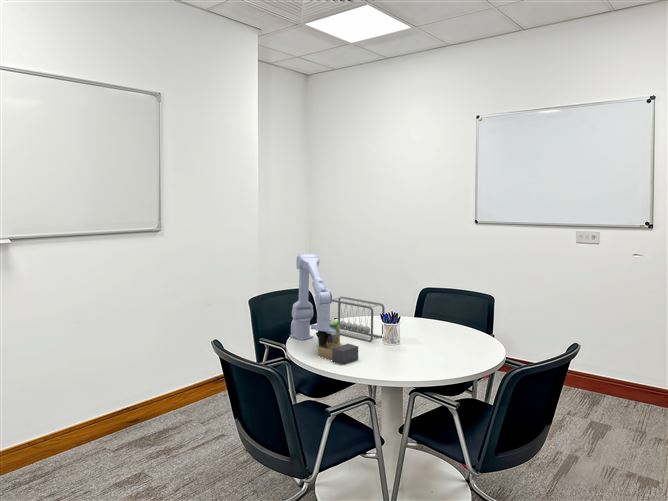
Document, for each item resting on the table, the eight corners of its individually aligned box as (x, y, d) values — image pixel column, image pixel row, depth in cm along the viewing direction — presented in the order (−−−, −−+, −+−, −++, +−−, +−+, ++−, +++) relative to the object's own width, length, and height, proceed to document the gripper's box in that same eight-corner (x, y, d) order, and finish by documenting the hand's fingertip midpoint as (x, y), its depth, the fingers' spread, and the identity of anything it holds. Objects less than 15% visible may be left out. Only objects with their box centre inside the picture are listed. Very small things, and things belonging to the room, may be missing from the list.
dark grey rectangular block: (319, 357, 225) (319, 344, 224) (335, 352, 232) (335, 339, 231) (342, 365, 215) (342, 351, 215) (358, 359, 222) (358, 346, 222)
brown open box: (317, 356, 227) (318, 346, 227) (330, 352, 233) (330, 342, 232) (333, 361, 220) (334, 351, 220) (346, 357, 226) (346, 347, 225)
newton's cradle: (325, 331, 268) (326, 298, 266) (338, 328, 276) (339, 295, 274) (371, 343, 248) (372, 307, 246) (384, 338, 256) (385, 303, 254)
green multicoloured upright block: (336, 349, 238) (337, 317, 236) (317, 347, 240) (317, 316, 238) (340, 343, 247) (340, 313, 245) (321, 342, 249) (322, 312, 247)
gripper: (305, 316, 231) (305, 345, 232) (328, 322, 221) (328, 353, 222) (317, 314, 236) (316, 342, 237) (339, 319, 226) (339, 349, 227)
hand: (323, 347), depth 230 cm, fingers closed
